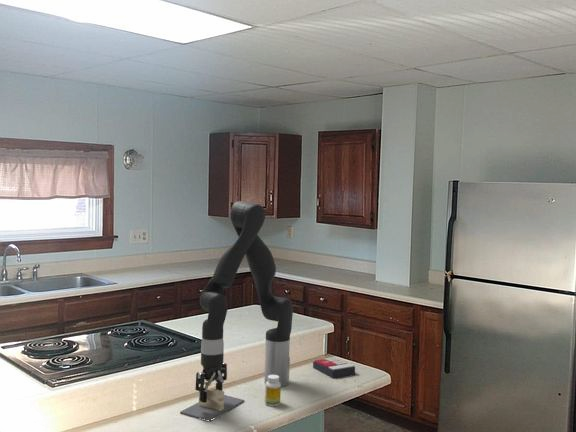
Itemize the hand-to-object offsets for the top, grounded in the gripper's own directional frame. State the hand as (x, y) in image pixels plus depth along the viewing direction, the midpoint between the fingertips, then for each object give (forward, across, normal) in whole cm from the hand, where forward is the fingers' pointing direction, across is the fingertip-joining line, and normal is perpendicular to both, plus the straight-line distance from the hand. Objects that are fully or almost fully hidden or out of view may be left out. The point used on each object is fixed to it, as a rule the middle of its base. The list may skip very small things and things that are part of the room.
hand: (211, 398), depth 191 cm
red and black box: (+4, +59, -18) cm, 62 cm away
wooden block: (+3, 0, 0) cm, 3 cm away
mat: (+4, +1, 0) cm, 4 cm away
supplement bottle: (+4, +15, -15) cm, 22 cm away
